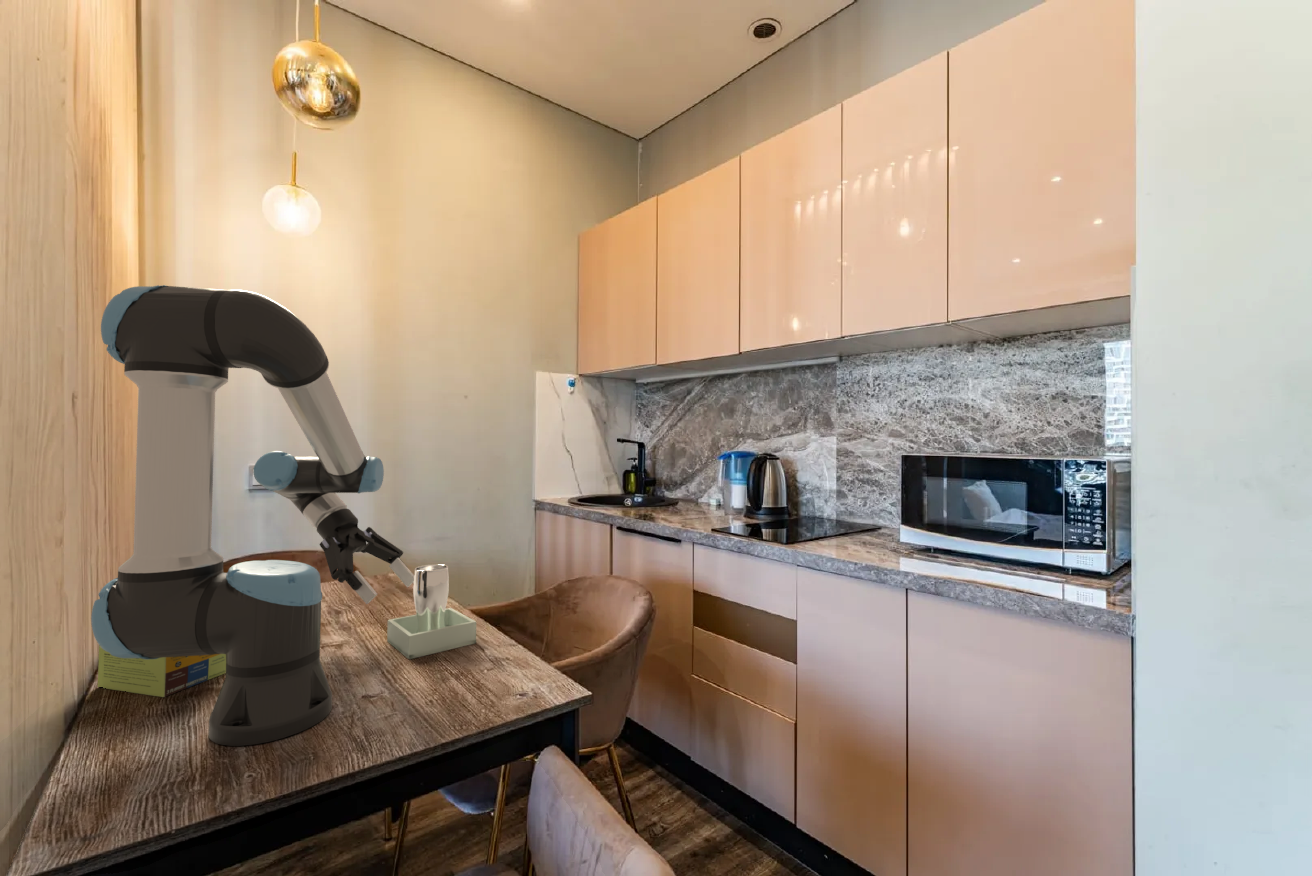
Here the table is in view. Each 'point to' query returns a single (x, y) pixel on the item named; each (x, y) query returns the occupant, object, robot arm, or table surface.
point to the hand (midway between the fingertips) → (393, 590)
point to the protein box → (157, 672)
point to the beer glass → (430, 596)
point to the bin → (431, 634)
